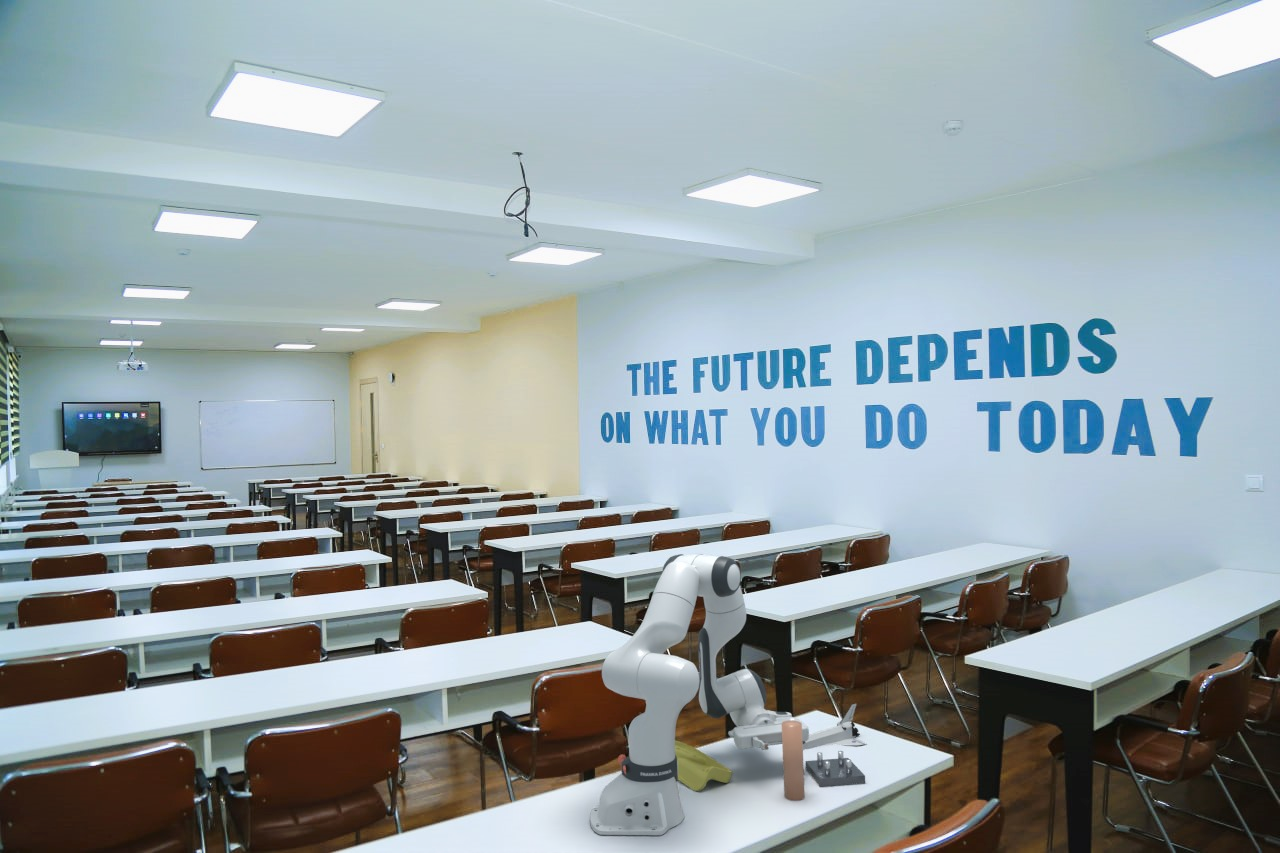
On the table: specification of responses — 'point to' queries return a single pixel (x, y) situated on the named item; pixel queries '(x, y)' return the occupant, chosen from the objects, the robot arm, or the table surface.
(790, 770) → the canister
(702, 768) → the plastic component
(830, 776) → the plate
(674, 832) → the table surface
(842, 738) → the space shuttle model
